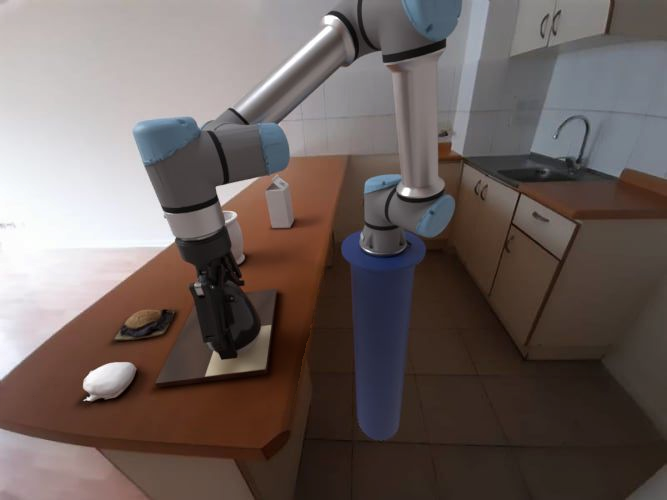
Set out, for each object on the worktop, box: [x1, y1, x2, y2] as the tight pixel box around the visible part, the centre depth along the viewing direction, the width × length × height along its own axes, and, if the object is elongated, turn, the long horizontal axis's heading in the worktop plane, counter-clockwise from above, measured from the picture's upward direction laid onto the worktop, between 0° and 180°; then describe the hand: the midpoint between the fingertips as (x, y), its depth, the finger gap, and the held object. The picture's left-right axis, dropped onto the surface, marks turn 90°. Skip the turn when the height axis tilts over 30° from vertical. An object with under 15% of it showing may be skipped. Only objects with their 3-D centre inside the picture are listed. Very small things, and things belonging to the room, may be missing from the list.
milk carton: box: [264, 173, 295, 229], centre depth 105 cm, size 7×7×19 cm
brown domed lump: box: [114, 308, 176, 342], centre depth 64 cm, size 11×8×4 cm
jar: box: [222, 210, 246, 265], centre depth 84 cm, size 11×10×15 cm
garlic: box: [82, 361, 137, 402], centre depth 51 cm, size 8×7×4 cm
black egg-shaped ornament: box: [207, 279, 261, 356], centre depth 51 cm, size 10×10×15 cm
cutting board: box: [154, 288, 278, 389], centre depth 61 cm, size 20×24×2 cm
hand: (236, 333), depth 53 cm, fingers closed on black egg-shaped ornament, 10 cm apart
